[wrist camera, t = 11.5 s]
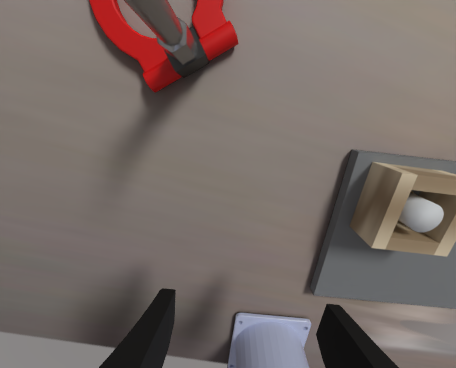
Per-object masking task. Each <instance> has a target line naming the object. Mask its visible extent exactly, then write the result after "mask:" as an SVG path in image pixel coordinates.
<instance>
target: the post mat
mask: <svg viewBox="0 0 456 368" xmlns="http://www.w3.org/2000/svg"><path fill="white" fill-rule="evenodd" d="M372 162H378V163H386V164H393V165H401V166H409V167H417V168H425V169H433V170H441V171H446V172H449V173H453V174H456V161H449V160H440V159H431V158H423V157H414V156H405V155H396V154H387V153H378V152H370V151H361V150H352V151H351V154H350V157H349V161H348V164H347V167H346V171H345V174H344V177H343V180H342V184H341V187H340V190H339V194H338V197H337V200H336V203H335V207H334V210H333V213H332V217H331V220H330V223H329V226H328V230H327V233H326V236H325V240H324V243H323V246H322V249H321V253H320V256H319V259H318V263H317V266H316V269H315V272H314V276H313V279H312V282H311V286H310V288H311V290H312V293H313V295H316V296H327V297H338V298H348V299H359V300H369V301H380V302H390V303H401V304H411V305H422V306H433V307H443V308H454V309H456V242H455V243H454V245H453V247H452V249H451V251H450V252H449V254H448V256H447V257H446V256H437V255H429V254H420V253H411V252H402V251H394V250H385V249H376V248H371V247H370V246H369V245H368V244H367V243H366V242H365V241H364V240H363V239H362V238H361V237H360V236H359V235H358V234H357V233H356V232H355V231H354V230H353V229H352V228H351V227H350V223H351V220H352V218H353V215H354V212H355V209H356V206H357V204H358V201H359V198H360V195H361V192H362V190H363V187H364V184H365V181H366V179H367V176H368V173H369V170H370V167H371V165H372ZM420 192H421V191H417V190H411V192H410V194H409V197H408V199H407V201H406V203H405V206H404V208H403V210H402V212H401V215H400V217H399V219H398V221H400V222H402V223H403V224H405V225H406V226H408V227H409V228H411V229H412V230H414V231H416V232H428V231H430V230H432V229H434V228H435V227H437V226H438V225H439V224H440V222H441V221H442V219H443V215H444V212H443V209H442V208H441V207H440V206H439V205H437V204H435V203H433V202H431V201H429V200H427V199H424V198H422V197H420V196H419V194H420Z"/></svg>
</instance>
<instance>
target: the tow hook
mask: <svg viewBox="0 0 456 368" xmlns="http://www.w3.org/2000/svg"><path fill="white" fill-rule="evenodd" d="M124 1H125V2H126V3H127V4H128V5H129V7H130V8H131V9H132V10H133V11H134V12H135V13H136V14H137V15H138V16H139V17H140V18H141V19H142V21H143V22H144V23H145V24H146V25H147V26H148V27H149V28H150V29H151V30H152V31H153V32H154V34H155V35H156V36H157V38H149V37H146V36H143V35H141V34H139V33H138V32H136V31H134V30H133V29H132V28H131V27H130V26H129V25H128V24H127V22H126V20H125V19H124V17H123V15H122V14H121V12H120V9H119V6H118V3H117V0H89V2H90V4H91V7H92V10H93V13H94V15H95V18H96V20H97V21H98V23H99V25H100V26H101V28H102V29H103V31H104V33H105V34H106V36H107V37H108V38H109V39H110V40H111V41H112V42H113V43H114V44H115V45H116V46H117V47H118V48H119V49H120V50H121V51H123V52H125V53H126V54H128V55H129V56H131V57H133V58H134V59H136V60H138V61H139V63H140V65H141V67H142V69H143V70H144V73H143V77H144V79H145V81H146V83H147V84H148V86H149V87H150V88H151V90H152V91H153V92H157V91H159V90H161V89H162V88H164V87H166V86H167V85H169V84H171V83H173V82H174V81H176V80H178V79H179V78H181V77H186V76H188V75H189V74H191V73H193V72H195V71H196V70H198V69H200V68H201V67H203V66H205V65H206V64H208V63H209V61H210V60H212V59H214V58H215V57H217V56H219V55H220V54H222V53H224V52H225V51H227V50H229V49H231V48H232V47H234V46H236V45H237V44H238V39H237V35H236V32H235V29H234V27H233V25H232V24H231V22H230V21H228V22H226V20H225V17H224V15H223V13H222V7H223V0H197V5H196V9H195V11H194V13H193V15H192V23H193V25H194V28H195V30H196V32H197V34H198V36H199V38H200V39H198V36H197V34H196V32H195V30H194V28H193V27H191V28H188V26H187V24H186V23H185V22H184V21H182V20H181V19H180V18H178V17H177V16H176V15H175V13H174V11H173V9H172V7H171V6H170V4H169V2H168V0H124Z"/></svg>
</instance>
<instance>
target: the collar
mask: <svg viewBox="0 0 456 368" xmlns="http://www.w3.org/2000/svg"><path fill="white" fill-rule="evenodd" d="M411 190H417V191H421V192H420V194H419V196H420V197H422V198H424V199H427V200H429V201H431V202H433V203H435V204H437V205H439V206H440V207H441V208H442V209H443V212H444V215H443V219H442V221H441V222H440V224H439V225H438V226H437V227H435V228H434V229H432V230H430V231H428V232H416V231H414V230H412V229H411V228H409V227H408V226H406V225H405V224H403V223H402V222H400V221H398V219H399V217H400V215H401V212H402V210H403V208H404V206H405V203H406V201H407V199H408V197H409V194H410V192H411ZM350 227H351V228H352V229H353V230H354V231H355V232H356V233H357V234H358V235H359V236H360V237H361V238H362V239H363V240H364V241H365V242H366V243H367V244H368V245H369V246H370V247H371V248H376V249H385V250H394V251H402V252H411V253H420V254H429V255H437V256H446V257H447V256H448V254H449V252H450V251H451V249H452V247H453V245H454V243H455V242H456V174H453V173H449V172H446V171H441V170H433V169H425V168H417V167H409V166H401V165H393V164H386V163H378V162H372V165H371V167H370V170H369V173H368V176H367V179H366V181H365V184H364V187H363V190H362V192H361V195H360V198H359V201H358V204H357V206H356V209H355V212H354V215H353V218H352V220H351V223H350Z"/></svg>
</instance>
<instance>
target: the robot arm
mask: <svg viewBox="0 0 456 368" xmlns="http://www.w3.org/2000/svg"><path fill="white" fill-rule="evenodd" d="M174 316H175V290H173V289H163V288H162V289H161V290H160V291H159V293H158V294H157V296H156V297H155V299H154V300H153V302H152V303H151V304H150V306H149V307H148V309H147V310H146V311H145V313H144V314H143V315H142V317H141V318H140V319H139V321H138V322H137V323H136V324H135V326H134V327H133V328H132V330H131V331H130V332H129V333H128V335H127V336H126V337H125V338H124V339H123V341H122V342H121V343H120V344H119V345H118V346H117V348H116V349H115V350H114V351H113V353H111V355H110V356H109V357H108V358H107V359H106V360H105V361H104V362H103V364H102V365H101V366H100V367H99V368H162V366H163V363H164V360H165V357H166V354H167V351H168V347H169V343H170V339H171V334H172V330H173V325H174ZM310 327H311V322H310V320H309V319H305V318H294V317H283V316H272V315H262V314H251V313H237V314H236V317H235V323H234V329H233V335H232V341H231V347H230V353H229V360H228V366H227V368H309V365H308V362H307V359H306V356H305V352H304V349H303V348H304V345H305V342H306V339H307V336H308V333H309V330H310ZM316 336H317V340H318V344H319V348H320V351H321V355H322V359H323V362H324V365H325V367H326V368H399V367H398V366H397V365H396V364H395V363H394V362H393V361H392V360H391V359H390V358H389V357H388V356H387V355H386V354H385V353H384V352H383V351H382V350H381V349H380V348H379V347H378V346H377V345H376V344H375V343H374V342H373V341H372V339H371V338H370V337H369V336H368V335H367V334H366V333H365V332H364V331H363V330H362V329H361V328H360V327H359V325H358V324H357V323H356V322H355V321H354V320H353V319H352V318H351V317H350V316H349V315H348V314H347V313H346V311H345V310H344V309H343V308H342V307H341V306H340V305H333V304H327V305H326V308H325V310H324V313H323V316H322V319H321V322H320V325H319V328H318V330H317V333H316Z"/></svg>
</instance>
